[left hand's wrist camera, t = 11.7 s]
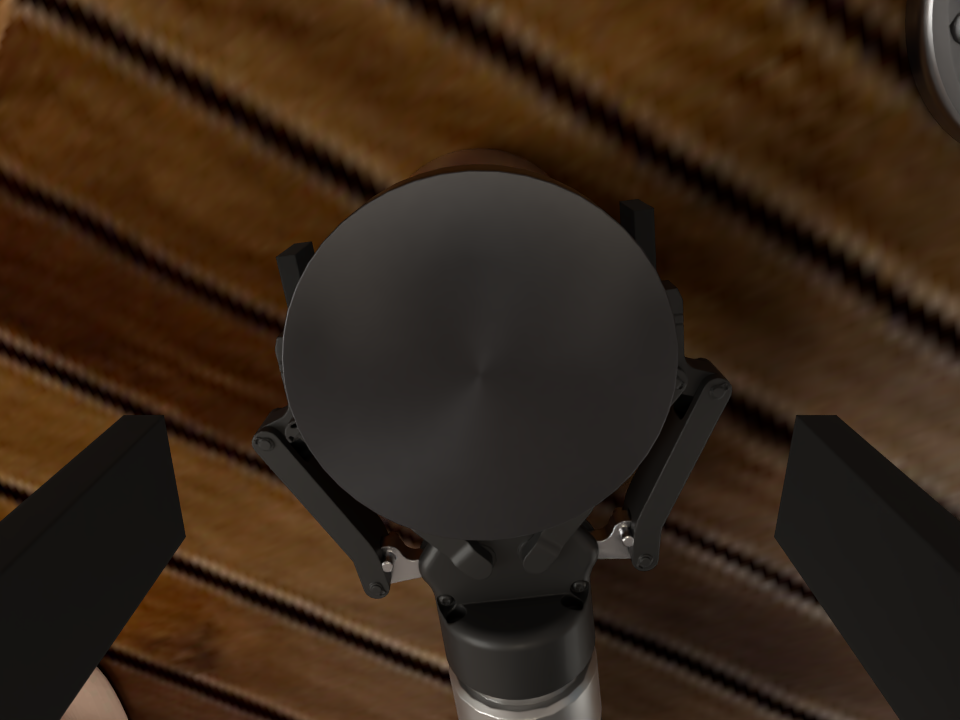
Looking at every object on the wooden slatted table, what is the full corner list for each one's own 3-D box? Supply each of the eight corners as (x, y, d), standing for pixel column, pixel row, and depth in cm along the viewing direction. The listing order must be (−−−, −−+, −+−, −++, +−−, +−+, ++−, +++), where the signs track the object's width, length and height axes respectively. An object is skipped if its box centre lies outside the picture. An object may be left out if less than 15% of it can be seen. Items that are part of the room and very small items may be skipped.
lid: (350, 526, 22) (337, 565, 20) (254, 202, 19) (229, 213, 17) (673, 475, 22) (692, 511, 20) (641, 129, 18) (660, 132, 16)
